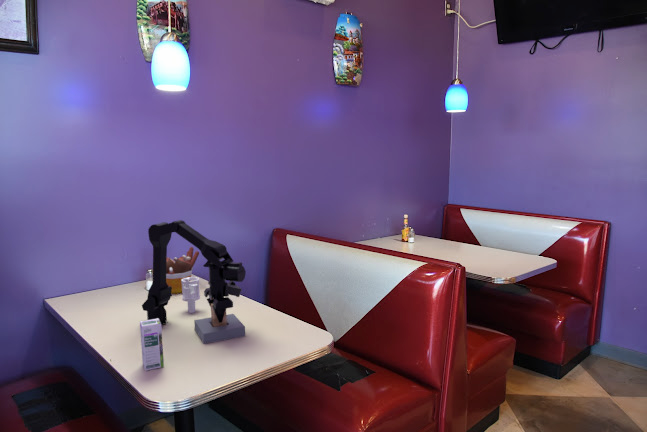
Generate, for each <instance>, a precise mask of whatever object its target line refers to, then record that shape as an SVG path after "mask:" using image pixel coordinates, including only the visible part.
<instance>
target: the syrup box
mask: <svg viewBox="0 0 647 432" xmlns="http://www.w3.org/2000/svg"><path fill="white" fill-rule="evenodd" d="M162 330H163V329H162V325H161V322H160V320H159V319H158V318H156V319H151V320H147V319H146V320H141V321H139V331H140V332H139V333H140V343H141V344H140V345H141V358H142V365H143V369H144V371H145V372H147V371H150V370H155V369H160V368H164V367H165V364H164V350H163V349H164V348H163V346H164V344H163V333H162V332H163V331H162Z"/></svg>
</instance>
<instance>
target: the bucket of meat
mask: <svg viewBox="0 0 647 432" xmlns="http://www.w3.org/2000/svg"><path fill="white" fill-rule="evenodd" d="M199 255H200V251H199V250H197V251H195V252H194V247H193V246H190V247H189V250H188V251H186V255H185V254H183V255H182V256H180V257H178V258H177V257H176V256H175V257H174V258H173V259H172V258H170V257H169V256H168V257H167V263H166V283H167V284H168V286H171V287H172V290H171V294H172V295H178V294H182V282H181V280H182V279H183V278H187V277H192V273H193V269H194V268H193V267H194V265H195V263H196V262H197V260H198V257H199ZM189 281H191V280H189ZM184 286H185V285H184Z"/></svg>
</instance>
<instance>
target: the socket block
mask: <svg viewBox="0 0 647 432" xmlns="http://www.w3.org/2000/svg"><path fill="white" fill-rule="evenodd" d="M226 319H227V325H224V326H218V327H212V322H211V316H210V317H206V318H200V319H194V330H195V332H196V334H197V335H198V336H199V338H200V340H201V342H202V343H203V344H210V343H214V342H215V343H216V342H221V341H225V340H226V341H227V340H231V339H236V338H241V337H245V336H246V326H245V325H244V324H243V322H242V321H240V320H241V319H239V318H238V317H237V316H236V315H235V314H234V313H230V314H226Z"/></svg>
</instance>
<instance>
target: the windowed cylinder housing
mask: <svg viewBox="0 0 647 432" xmlns="http://www.w3.org/2000/svg"><path fill="white" fill-rule="evenodd" d="M189 280H190V281H189ZM181 282H182V293H181V294H182V295H181V297H182V301H183V302H187V312H188V313H189V314H192V313H195V312H196V311H197V309H196V301H198V300H200V298H201V295H200V278H199V277H196V276H191V277H187V278H183V279H182V280H181ZM184 285H185V286H184Z"/></svg>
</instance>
